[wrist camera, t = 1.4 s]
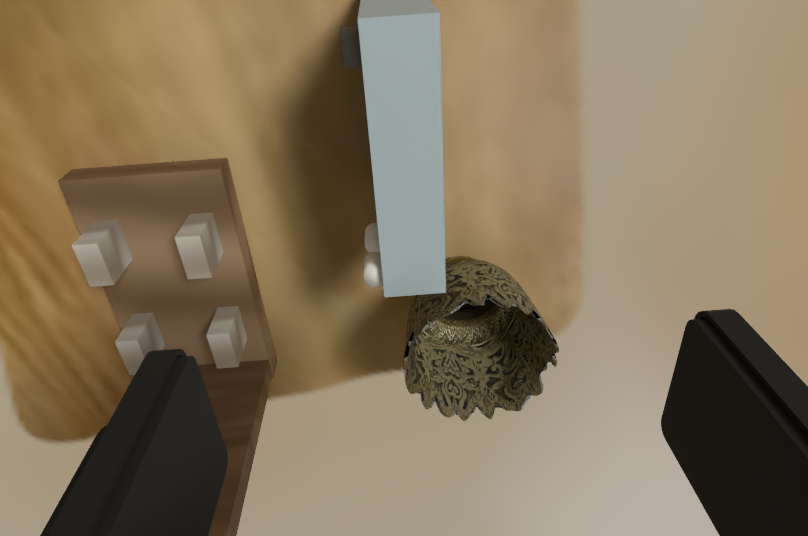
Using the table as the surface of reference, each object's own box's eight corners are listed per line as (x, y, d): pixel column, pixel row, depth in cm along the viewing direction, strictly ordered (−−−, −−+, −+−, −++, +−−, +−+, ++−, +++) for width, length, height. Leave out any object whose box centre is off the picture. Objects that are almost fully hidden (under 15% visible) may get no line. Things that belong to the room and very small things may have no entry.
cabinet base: (72, 169, 28) (-188, 383, 15) (227, 158, 28) (100, 361, 15) (154, 370, 36) (28, 629, 23) (276, 361, 36) (220, 614, 23)
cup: (488, 337, 36) (515, 435, 29) (381, 309, 34) (383, 405, 27) (542, 243, 32) (587, 329, 25) (424, 206, 30) (439, 288, 24)
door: (345, -14, 24) (330, 20, 16) (417, -20, 24) (439, 12, 16) (366, 191, 30) (364, 299, 21) (425, 187, 30) (446, 292, 21)
